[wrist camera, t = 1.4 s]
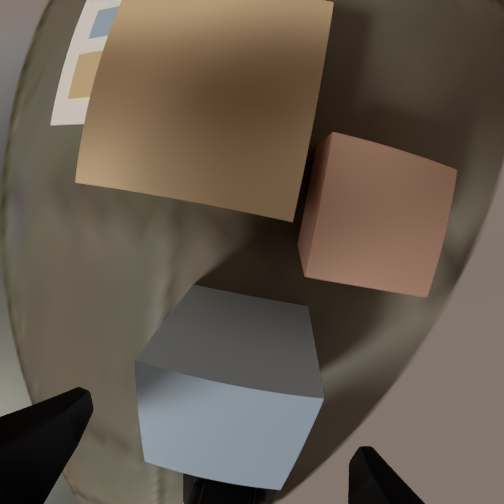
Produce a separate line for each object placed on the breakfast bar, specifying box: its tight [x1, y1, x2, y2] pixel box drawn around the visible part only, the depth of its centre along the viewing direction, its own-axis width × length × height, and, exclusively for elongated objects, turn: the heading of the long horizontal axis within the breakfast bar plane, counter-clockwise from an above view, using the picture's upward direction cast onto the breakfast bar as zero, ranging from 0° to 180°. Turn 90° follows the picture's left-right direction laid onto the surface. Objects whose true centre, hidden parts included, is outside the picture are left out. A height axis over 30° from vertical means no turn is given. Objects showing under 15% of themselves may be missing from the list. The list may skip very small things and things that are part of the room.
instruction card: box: [51, 0, 122, 126], centre depth 10 cm, size 8×4×1 cm, turn 171°
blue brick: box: [135, 285, 324, 490], centre depth 11 cm, size 5×5×6 cm
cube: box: [297, 132, 457, 298], centre depth 10 cm, size 4×4×4 cm
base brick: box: [75, 0, 334, 222], centre depth 9 cm, size 7×7×4 cm
